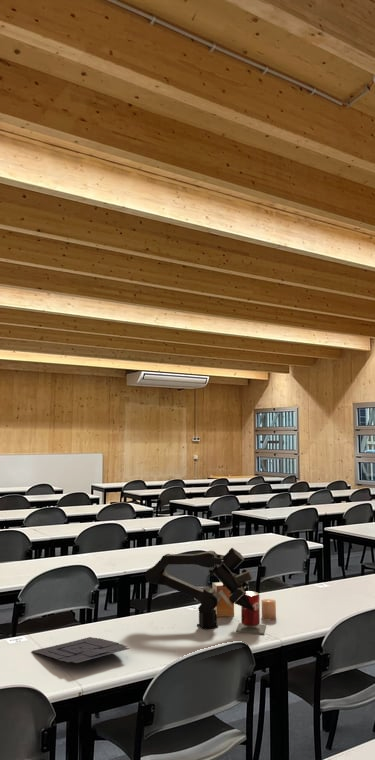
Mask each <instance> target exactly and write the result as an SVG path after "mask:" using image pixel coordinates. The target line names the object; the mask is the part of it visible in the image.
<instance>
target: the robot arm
mask: <svg viewBox="0 0 375 760" xmlns="http://www.w3.org/2000/svg"><path fill="white" fill-rule="evenodd" d="M244 561H245V557H244V556H243V555H242V554H241V552H239V551H238V550H236V549H235V548H234V547H231V548H229V550H228V552H227V553H225V554H224V555H223V554H219V553H216V551H214V550H208V551H202V552H199V553H177V554H176V553H175V554H174V553H172V554H171V553H165V554H164V555H162V556H161V558H160V560H158V561H157V563H155V565H154V566H151V567H149V568H148V569H147V570H146V571H145V575H144V576H145V580H146V581H147V583H150V584H153V585H161V586H166V587H168V588H170V589H173V590H175V591H177V592H179V593H181V594H184V595H186V596H189V597H191V598H193V599H195V600H196V601H197V602H198V603H200V605H199V606H198V607H197V609H198V623H196V626H197V627H200V628H201V629H203V630H210V629H215V628H219V625H218V617H217V614H216V610H214V608H215V607H216V606H217V605H218V603H219V602H220V595H219V593H218V592H217V591H215V590H216V589H212V587H210V586H209V585H206V586H205V587H204V588H201V587H198V586H195V585H193V584H190V583H189V582H186V581H184V580H182V579H179V578H177V577H174V576H173V575H170V574H169V573H168V572H167V570H166V568H167V567H168V566H169V565H195V566H198V567H204V568H209V569H208V573H209V574H208V576H209V578H210V577H212V576H213V575H214V576H215V577H216V578H217V579H218V580H219V582H222V583H223V587H226V588H227V589H228V590H229V591H230V594H231V595H230V597H229V601H230V602H231V603H232V604H234V605H237V606H240V607H241V606H242V607H244V608H247V609H249V610H251V611H253V610H254V608H253V607H252V605H251V604H250V602H249V601H248V599H247V598H246V592H245V591H250V590H249V581H251V580H253V576H252V572H251V571H250V570H249V569H247V568H243V569H242V570H241V573H239V574H237V573H233V572H232V571H231V570H236V568H238V567H239V565H240V564H242V562H244ZM220 563H221V564H220ZM212 567H213V568H212Z"/></svg>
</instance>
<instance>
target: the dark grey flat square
mask: <svg viewBox="0 0 375 760" xmlns="http://www.w3.org/2000/svg"><path fill="white" fill-rule="evenodd" d="M130 649H131V648H130V647H128V646H127V645H124V644H123V643H119V642H117V641H112V640H108V639H104V638H98V637H91V636H88V637H85V638H80V639H77V640H72V641H68V642H64V643H61V644H60V643H59V644H57V645H52V646H48V647H43V648H38V649H35V650H31V652H33V653H35V654H41V655H43V656H47V657H49V658H52V659H54V660H57V661H60V662H61V661H62V662H66V663H71V662H72V663H75V664H79V663H82V662H85V661H89V660H93V659H97V658H101V657H103V656H104V657H105V656H108V655H111V654H115V653H119V652H122V651H123V652H124V651H127V650H130Z"/></svg>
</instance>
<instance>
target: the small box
mask: <svg viewBox="0 0 375 760" xmlns="http://www.w3.org/2000/svg"><path fill="white" fill-rule="evenodd" d="M211 588H212V589H216V590H215V591H217V592H218V593H219V595H220V602H219V603H218V605H217V606H216V607H215V608H214V610H216V614H217V618H219V617H234V616H235V604H232V603H231V602H230V601H229V597H230V595H231V594H230V591H229V590H228V589H227V588H226V587H223V583H222V582H221V581H219V582H212V587H211Z"/></svg>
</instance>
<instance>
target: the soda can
mask: <svg viewBox="0 0 375 760" xmlns="http://www.w3.org/2000/svg"><path fill="white" fill-rule="evenodd" d="M245 592H246V598H247V599H248V601H249V602H250V604H251V605H252V607H253V608H254V610H253V611H251V610H249V609H247V608H244V607H242V606H240V607H241V609H240V610H241V611H240V612H241V615H240V617H241V619H240V620H241V622H240V623H242V624H243V625H244V626H247V627H256V626H258V625H259V624H260V621H261V619H260V616H261V614H260V612H261V610H260V609H261V608H260V607H261V606H260V605H261V603H260V594H259V592H256V591H252V590H249V591H245Z"/></svg>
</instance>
